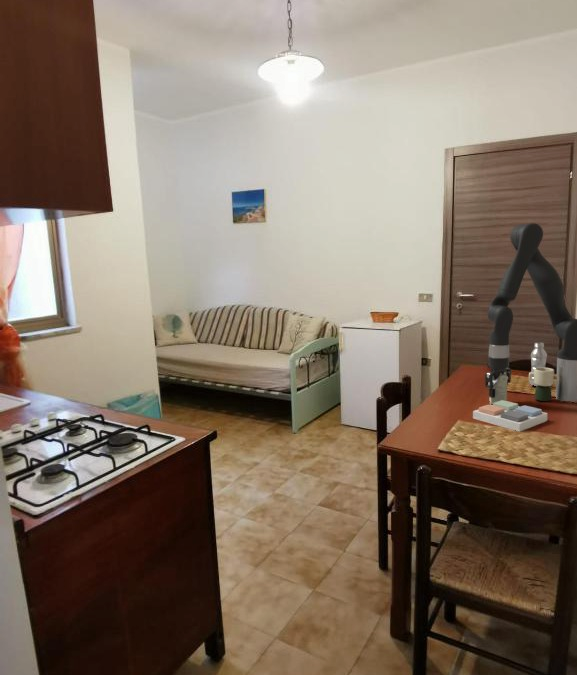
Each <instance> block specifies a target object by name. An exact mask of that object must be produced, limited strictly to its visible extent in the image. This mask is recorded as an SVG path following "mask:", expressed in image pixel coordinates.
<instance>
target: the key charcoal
mask: <svg viewBox="0 0 577 675" xmlns="http://www.w3.org/2000/svg"><path fill="white" fill-rule="evenodd" d="M501 418H504V419H508V420H511V421H515V422H521V421H524V420H526V419H528V414H525V413H521V412H517V411H513V410H510V411H507V412H504V413H501Z"/></svg>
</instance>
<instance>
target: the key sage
mask: <svg viewBox="0 0 577 675" xmlns="http://www.w3.org/2000/svg"><path fill="white" fill-rule="evenodd" d="M493 406H497V407H501V408H505V411H510V410H514V409H515V408H518V406H519V403H516V402H512V401H508V400H507V401H504V400H501V401H498V402H495V403H493Z"/></svg>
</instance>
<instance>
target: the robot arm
mask: <svg viewBox="0 0 577 675" xmlns="http://www.w3.org/2000/svg"><path fill="white" fill-rule="evenodd" d="M509 236H510V237H509V240H510V242H511V244H512V247H513V249H515V251H516V254H515V256H514V258H513V260H512V262H511V263H510V265H509V266H508V268H507V269H506V270H505V272H504V274H503V275H502V278H501V280H500V284H499V287H498V288H497V293H496V295H495V296H494V298H493V299H492V301H491V302H490V304H489V307H488V309H487V318H488V320H489V321H491V322H492V323H494V328H493V329H492V330H490V332H489V347H488V363H487V364H488V367H489V368H490V372H485V374H484V375H485V376H484V379H485V380H484V382H485V383H484V384H485V385H484V387H485V388H488V397H491V398H495V387H496V384H498V382H499V379H500V377H501V376H502V375H507V386H508V385H509V383H511V381H512V368H510V333H511V329H512V326H513V323H514V322H513V321H514V313H513V309H511V307H509V305H510V303H511V302H513V301H515V300H516V299H517V296H518V293H519V290H520V287H521V284H522V281H523V279H524V276H525V274H526V271H527V273H528V275H529V277H530V279H531V281H532V284H533V286H534V288H535V290H536V291H537V293H538V295H539V298H540V299H541V301H542V305H544V308H545V310H546V311H547V314H548V316H549V318H550V323H551V325H552V328H553V330H554V333H555V335H556V336H557V337H558V338H559V339H561V340H563V347H562V348H561V349H559V350H557V354H556V374H557V375H559V382H558V383H556V382H555V397H556V398H555V400H557V399H558V400H557V401H559V400H561V401H560V402H563V401H577V318H574V317H573V316H572V315H571V313H570V312H569V310H568V308H567V305H566V301H565V294H566V293H565V286H564V283H563V281H562V279H561V277H560V274H559V273H558V271H557V269H556V268H555V267H554V266H553V265H552V264H551V263H550V262H549V261H548V260H547V258H545V256H543V255H542V253H541V252H540V249H539V246H540V245H541V242H542V240H543V237H544V230H543V228H542V226H540V225H539V223H534V222H530V223H529V222H528V223H523V224H519V225H516V226H514V227H513V228H512V230H511V232H510V235H509ZM493 376H494V379H495V380H496V381H493ZM493 383H494V384H493Z"/></svg>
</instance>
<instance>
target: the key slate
mask: <svg viewBox="0 0 577 675" xmlns="http://www.w3.org/2000/svg"><path fill="white" fill-rule="evenodd" d="M515 411H517V412H521V413H525V414H528V416H529V417H534V416H537V415H540V414H542V412H543V410H542V409H541V408H537V407H533V406H530V405H522V406H519V407H518V408H515Z"/></svg>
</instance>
